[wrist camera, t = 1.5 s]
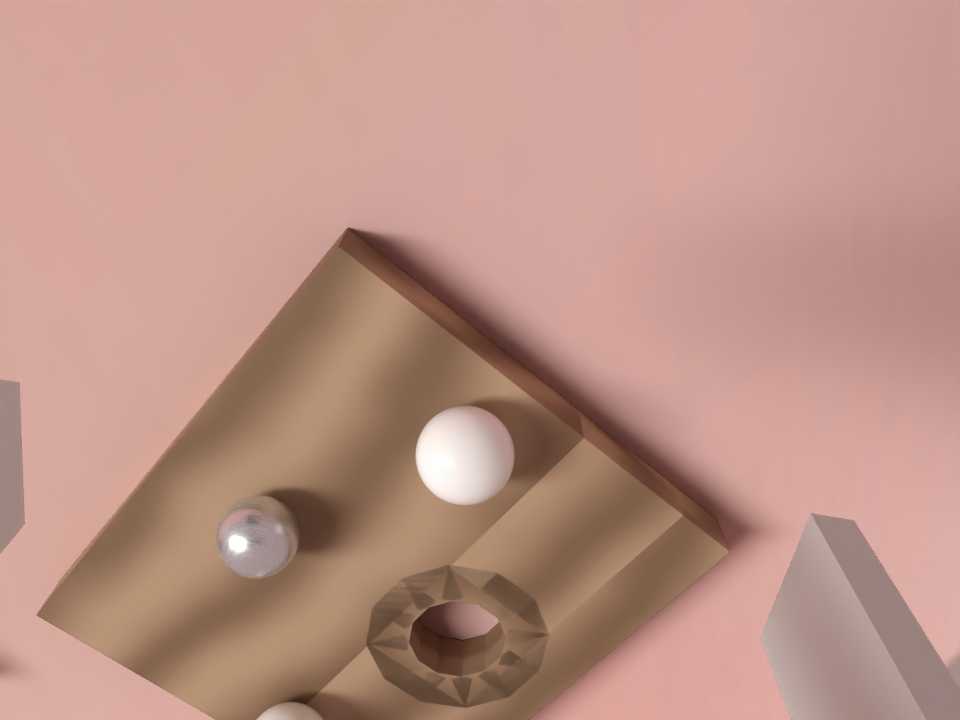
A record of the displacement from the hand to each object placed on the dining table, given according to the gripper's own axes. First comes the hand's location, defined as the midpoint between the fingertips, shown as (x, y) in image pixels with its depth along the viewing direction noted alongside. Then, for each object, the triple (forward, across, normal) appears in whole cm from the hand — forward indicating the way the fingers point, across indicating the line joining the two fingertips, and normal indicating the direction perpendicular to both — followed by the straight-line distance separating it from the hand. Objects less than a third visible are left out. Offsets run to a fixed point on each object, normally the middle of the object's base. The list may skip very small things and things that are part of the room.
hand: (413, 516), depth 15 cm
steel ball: (+19, -6, -16) cm, 25 cm away
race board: (+23, -1, -19) cm, 30 cm away
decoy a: (+19, +2, -10) cm, 21 cm away
